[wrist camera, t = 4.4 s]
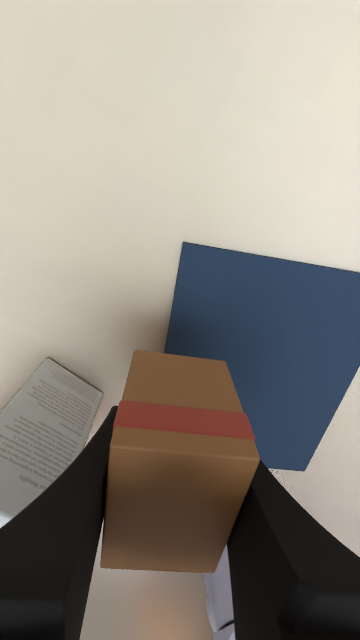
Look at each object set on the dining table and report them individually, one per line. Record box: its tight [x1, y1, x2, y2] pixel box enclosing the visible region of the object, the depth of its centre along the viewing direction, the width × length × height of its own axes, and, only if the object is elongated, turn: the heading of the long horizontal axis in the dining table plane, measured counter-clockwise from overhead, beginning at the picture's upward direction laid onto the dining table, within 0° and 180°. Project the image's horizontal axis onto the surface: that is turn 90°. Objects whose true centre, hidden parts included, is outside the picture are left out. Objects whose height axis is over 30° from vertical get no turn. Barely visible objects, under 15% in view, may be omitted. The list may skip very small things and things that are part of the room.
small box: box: [0, 358, 103, 528], centre depth 17 cm, size 8×6×10 cm
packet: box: [100, 350, 260, 573], centre depth 11 cm, size 7×5×6 cm
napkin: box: [164, 242, 360, 471], centre depth 22 cm, size 20×16×1 cm
